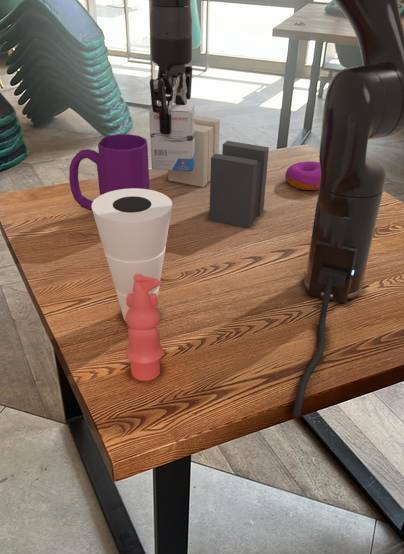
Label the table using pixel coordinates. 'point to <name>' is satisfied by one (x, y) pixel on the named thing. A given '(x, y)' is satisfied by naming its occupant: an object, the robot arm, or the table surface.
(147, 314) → the figurine
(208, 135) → the cream books
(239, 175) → the grey books
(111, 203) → the cup
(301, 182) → the donut
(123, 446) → the table surface
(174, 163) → the ink box
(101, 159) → the mug
